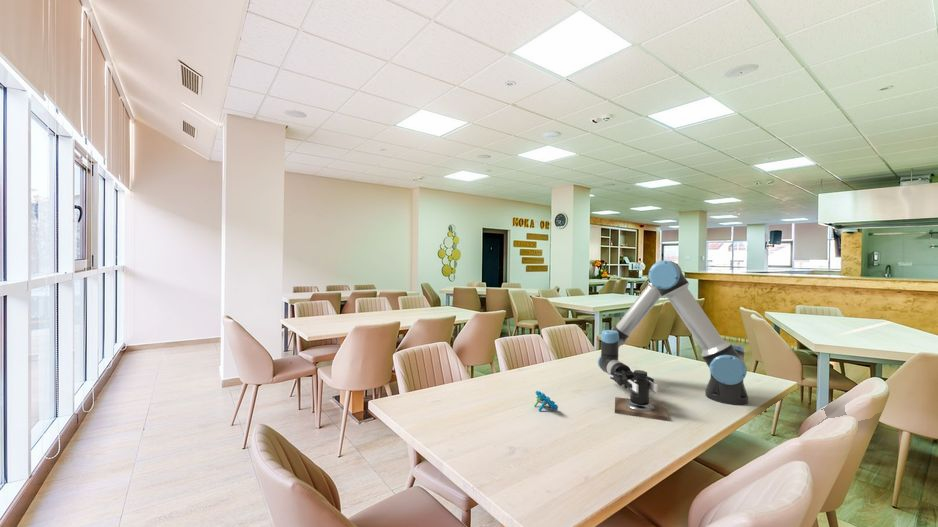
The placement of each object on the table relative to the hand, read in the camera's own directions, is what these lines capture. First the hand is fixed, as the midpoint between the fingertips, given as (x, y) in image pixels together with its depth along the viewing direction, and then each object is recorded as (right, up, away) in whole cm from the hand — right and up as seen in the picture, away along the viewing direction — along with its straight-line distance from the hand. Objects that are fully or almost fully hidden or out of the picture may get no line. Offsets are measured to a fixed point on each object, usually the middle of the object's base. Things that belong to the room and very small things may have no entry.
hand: (646, 388), depth 144 cm
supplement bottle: (0, -7, +5) cm, 9 cm away
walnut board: (0, -10, +5) cm, 11 cm away
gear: (-37, -10, +5) cm, 39 cm away
